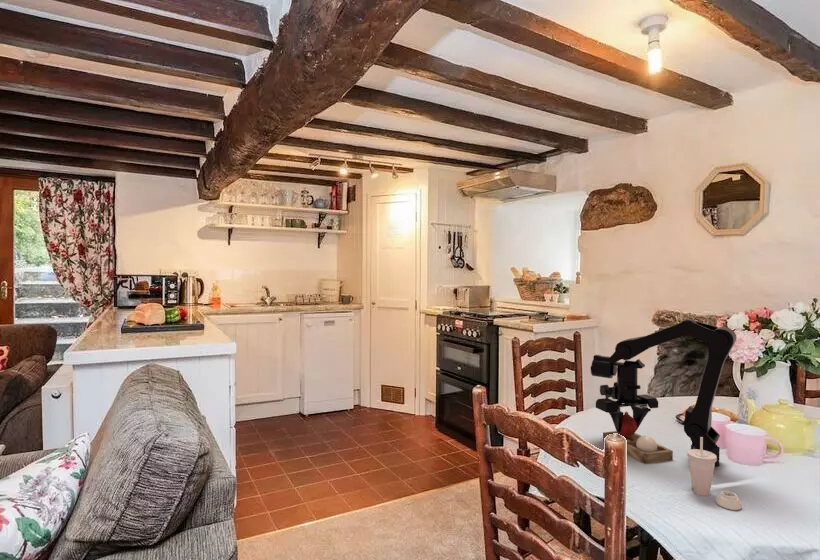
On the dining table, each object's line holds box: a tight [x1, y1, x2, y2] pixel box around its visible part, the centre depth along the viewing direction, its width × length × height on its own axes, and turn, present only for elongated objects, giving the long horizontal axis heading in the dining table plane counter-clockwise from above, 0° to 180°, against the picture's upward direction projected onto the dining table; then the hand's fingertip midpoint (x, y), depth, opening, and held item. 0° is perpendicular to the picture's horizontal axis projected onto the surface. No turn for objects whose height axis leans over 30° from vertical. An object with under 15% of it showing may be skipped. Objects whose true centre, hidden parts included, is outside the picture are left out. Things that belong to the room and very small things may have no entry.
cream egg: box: [636, 435, 658, 453], centre depth 140 cm, size 6×6×6 cm
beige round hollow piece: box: [715, 490, 743, 511], centre depth 113 cm, size 5×3×5 cm
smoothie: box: [686, 437, 717, 497], centre depth 120 cm, size 6×6×14 cm
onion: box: [620, 411, 638, 438], centre depth 148 cm, size 6×6×8 cm
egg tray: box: [602, 430, 674, 464], centre depth 145 cm, size 18×10×4 cm, turn 15°
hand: (626, 430), depth 148 cm, fingers closed on onion, 6 cm apart
